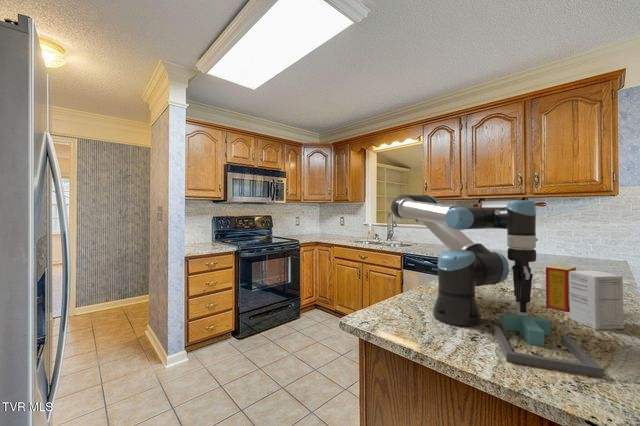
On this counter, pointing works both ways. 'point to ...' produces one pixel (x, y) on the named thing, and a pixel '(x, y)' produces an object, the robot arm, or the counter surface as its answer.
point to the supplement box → (596, 299)
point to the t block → (527, 327)
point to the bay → (584, 367)
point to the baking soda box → (558, 287)
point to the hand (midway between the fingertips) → (522, 321)
